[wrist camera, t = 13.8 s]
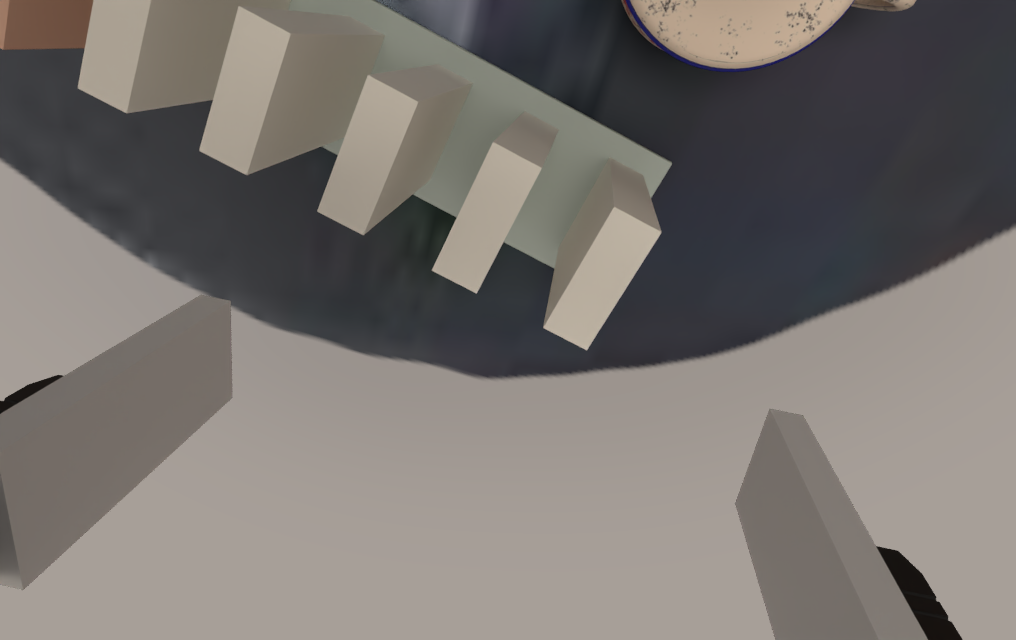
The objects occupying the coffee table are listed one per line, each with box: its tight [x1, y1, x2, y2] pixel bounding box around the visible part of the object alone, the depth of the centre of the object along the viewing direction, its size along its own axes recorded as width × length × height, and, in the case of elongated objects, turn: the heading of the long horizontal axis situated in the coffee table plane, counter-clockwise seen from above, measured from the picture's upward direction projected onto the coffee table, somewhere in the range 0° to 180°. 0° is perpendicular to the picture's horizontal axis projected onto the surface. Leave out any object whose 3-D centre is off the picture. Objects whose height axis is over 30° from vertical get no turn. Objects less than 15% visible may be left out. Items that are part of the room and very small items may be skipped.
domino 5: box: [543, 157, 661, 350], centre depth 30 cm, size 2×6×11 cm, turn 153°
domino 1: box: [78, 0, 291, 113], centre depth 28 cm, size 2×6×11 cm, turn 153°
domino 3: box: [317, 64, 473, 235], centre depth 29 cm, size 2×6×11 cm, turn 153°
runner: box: [288, 0, 672, 269], centre depth 34 cm, size 30×8×1 cm, turn 63°
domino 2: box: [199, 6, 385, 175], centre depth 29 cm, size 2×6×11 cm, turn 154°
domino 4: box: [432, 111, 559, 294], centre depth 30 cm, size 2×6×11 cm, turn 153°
